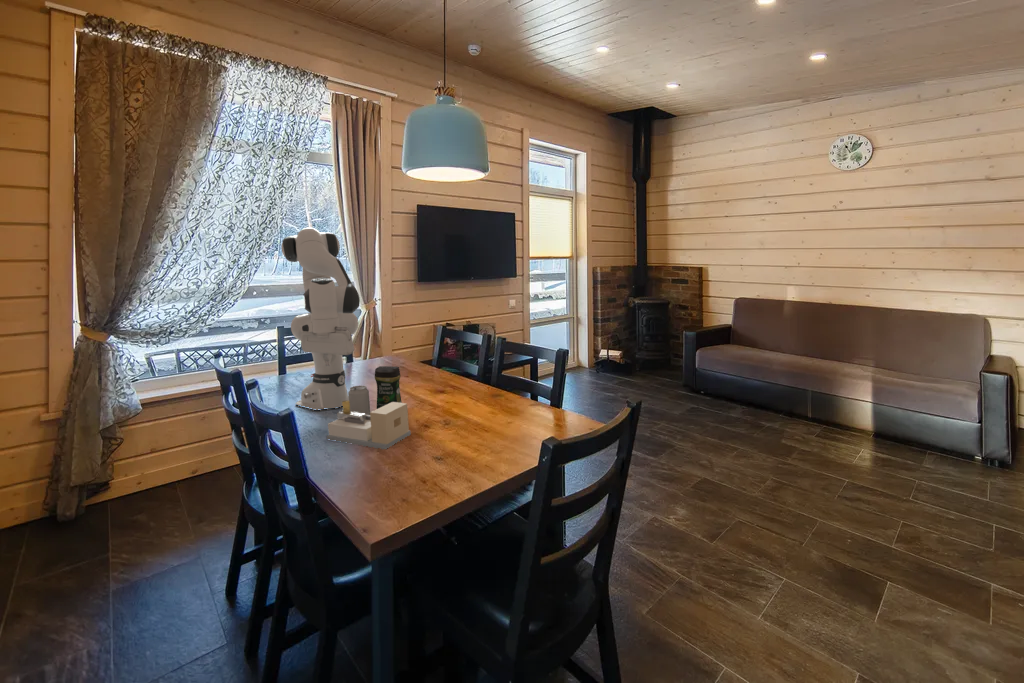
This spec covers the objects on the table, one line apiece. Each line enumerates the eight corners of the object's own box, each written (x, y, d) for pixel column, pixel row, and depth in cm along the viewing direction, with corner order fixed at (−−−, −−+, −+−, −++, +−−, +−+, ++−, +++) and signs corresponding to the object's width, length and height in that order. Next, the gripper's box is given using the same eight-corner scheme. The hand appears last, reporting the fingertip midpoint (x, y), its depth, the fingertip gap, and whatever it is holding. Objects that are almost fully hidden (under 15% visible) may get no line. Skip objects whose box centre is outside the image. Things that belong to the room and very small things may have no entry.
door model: (327, 440, 166) (324, 407, 163) (355, 426, 178) (352, 396, 176) (385, 449, 156) (383, 415, 154) (410, 434, 169) (408, 402, 167)
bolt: (337, 418, 169) (335, 401, 168) (343, 415, 172) (342, 399, 171) (360, 421, 166) (359, 404, 165) (366, 419, 168) (365, 402, 167)
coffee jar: (374, 415, 191) (370, 368, 187) (381, 408, 198) (378, 364, 195) (398, 415, 189) (395, 369, 186) (404, 409, 197) (402, 364, 194)
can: (349, 415, 190) (347, 385, 188) (369, 413, 193) (367, 383, 191) (350, 421, 184) (348, 390, 181) (371, 418, 186) (369, 388, 184)
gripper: (356, 326, 165) (359, 366, 168) (310, 323, 173) (313, 362, 175) (343, 328, 159) (347, 370, 162) (296, 326, 167) (300, 365, 170)
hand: (329, 365), depth 169 cm, fingers closed
